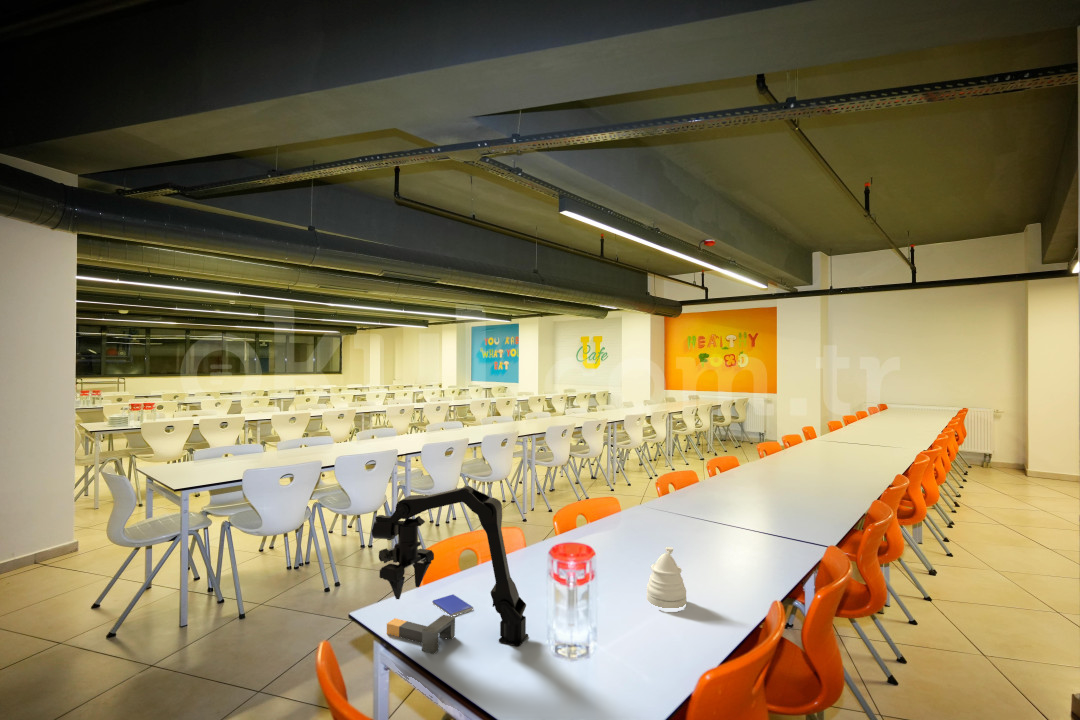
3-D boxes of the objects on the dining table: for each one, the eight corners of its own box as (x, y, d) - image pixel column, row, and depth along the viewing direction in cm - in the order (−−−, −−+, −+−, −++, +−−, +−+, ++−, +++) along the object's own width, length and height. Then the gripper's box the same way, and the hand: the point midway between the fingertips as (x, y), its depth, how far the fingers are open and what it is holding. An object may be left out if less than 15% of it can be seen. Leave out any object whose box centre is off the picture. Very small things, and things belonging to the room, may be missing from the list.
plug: (433, 638, 143) (433, 627, 143) (426, 644, 140) (426, 633, 140) (394, 628, 149) (394, 618, 149) (386, 633, 145) (386, 623, 146)
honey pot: (660, 592, 176) (660, 540, 177) (693, 604, 167) (693, 549, 167) (639, 603, 167) (639, 549, 168) (673, 616, 158) (673, 559, 158)
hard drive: (473, 606, 161) (453, 593, 171) (451, 613, 156) (432, 600, 165) (473, 611, 161) (453, 598, 171) (451, 618, 156) (432, 605, 165)
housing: (454, 636, 144) (455, 617, 144) (434, 653, 135) (434, 633, 135) (443, 633, 146) (443, 614, 146) (421, 650, 136) (422, 630, 137)
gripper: (406, 528, 161) (405, 577, 160) (364, 545, 144) (364, 601, 143) (435, 532, 156) (434, 582, 156) (395, 550, 139) (395, 607, 139)
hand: (407, 592), depth 148 cm, fingers open, 9 cm apart
